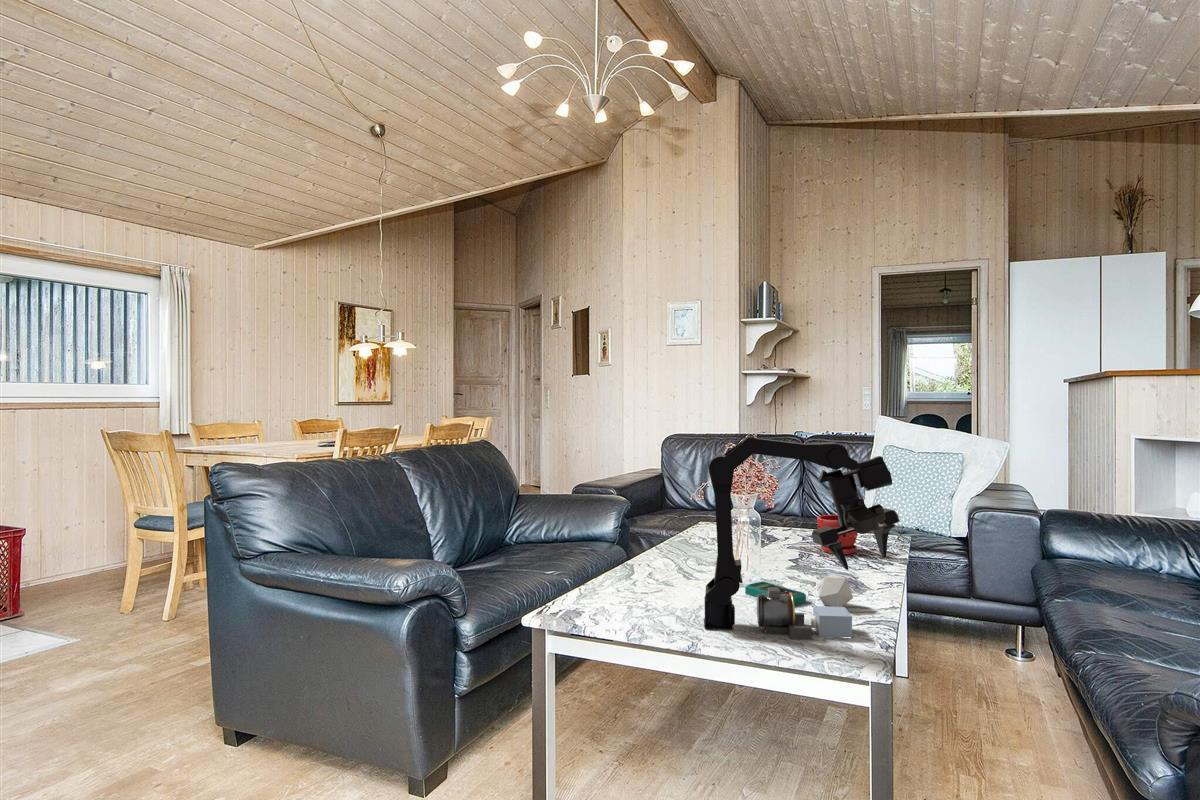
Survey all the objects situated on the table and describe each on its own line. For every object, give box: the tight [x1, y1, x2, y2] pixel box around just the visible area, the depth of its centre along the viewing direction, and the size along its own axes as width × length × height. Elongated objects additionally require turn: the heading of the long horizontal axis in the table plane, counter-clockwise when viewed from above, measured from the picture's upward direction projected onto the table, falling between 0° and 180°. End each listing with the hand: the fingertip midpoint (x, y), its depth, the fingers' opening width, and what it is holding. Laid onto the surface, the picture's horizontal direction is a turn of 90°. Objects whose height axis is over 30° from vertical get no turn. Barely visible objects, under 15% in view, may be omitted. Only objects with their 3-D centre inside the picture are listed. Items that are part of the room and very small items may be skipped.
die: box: [816, 573, 854, 607], centre depth 177 cm, size 8×9×10 cm
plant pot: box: [816, 514, 859, 555], centre depth 238 cm, size 13×13×12 cm
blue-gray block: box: [810, 605, 853, 638], centre depth 158 cm, size 8×7×5 cm
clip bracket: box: [788, 612, 813, 641], centre depth 159 cm, size 5×11×2 cm, turn 173°
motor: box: [756, 587, 796, 636], centre depth 159 cm, size 8×8×9 cm
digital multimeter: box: [744, 580, 807, 607], centre depth 185 cm, size 8×15×3 cm, turn 35°
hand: (865, 563), depth 157 cm, fingers open, 9 cm apart
